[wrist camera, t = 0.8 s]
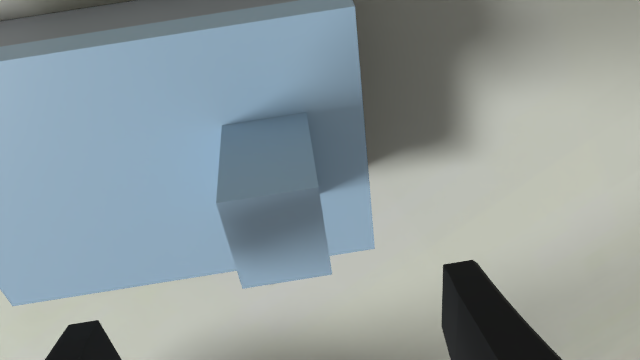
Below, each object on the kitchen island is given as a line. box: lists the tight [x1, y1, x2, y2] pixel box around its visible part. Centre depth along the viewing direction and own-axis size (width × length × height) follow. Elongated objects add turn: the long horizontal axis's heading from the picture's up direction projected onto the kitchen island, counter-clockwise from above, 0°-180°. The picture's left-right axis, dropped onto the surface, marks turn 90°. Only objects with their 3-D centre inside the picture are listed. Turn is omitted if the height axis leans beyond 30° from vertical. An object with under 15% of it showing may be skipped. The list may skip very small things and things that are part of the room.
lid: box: [0, 0, 375, 306], centre depth 15 cm, size 9×13×4 cm
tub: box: [0, 0, 298, 47], centre depth 18 cm, size 8×12×3 cm, turn 97°
